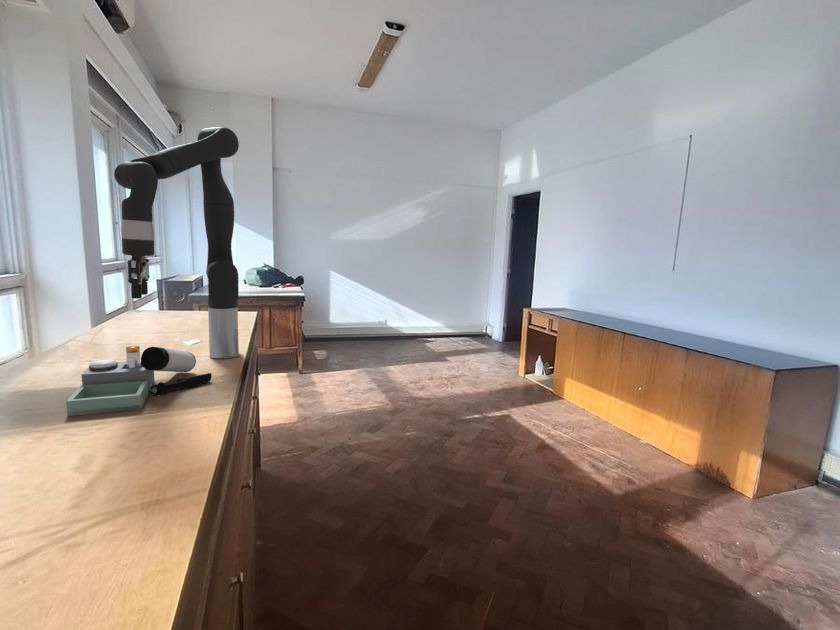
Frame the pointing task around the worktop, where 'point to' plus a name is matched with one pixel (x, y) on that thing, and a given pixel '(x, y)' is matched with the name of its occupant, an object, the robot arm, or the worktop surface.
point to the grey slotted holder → (115, 373)
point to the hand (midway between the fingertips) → (140, 296)
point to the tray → (107, 398)
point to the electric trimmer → (180, 384)
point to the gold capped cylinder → (133, 357)
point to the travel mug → (167, 360)
